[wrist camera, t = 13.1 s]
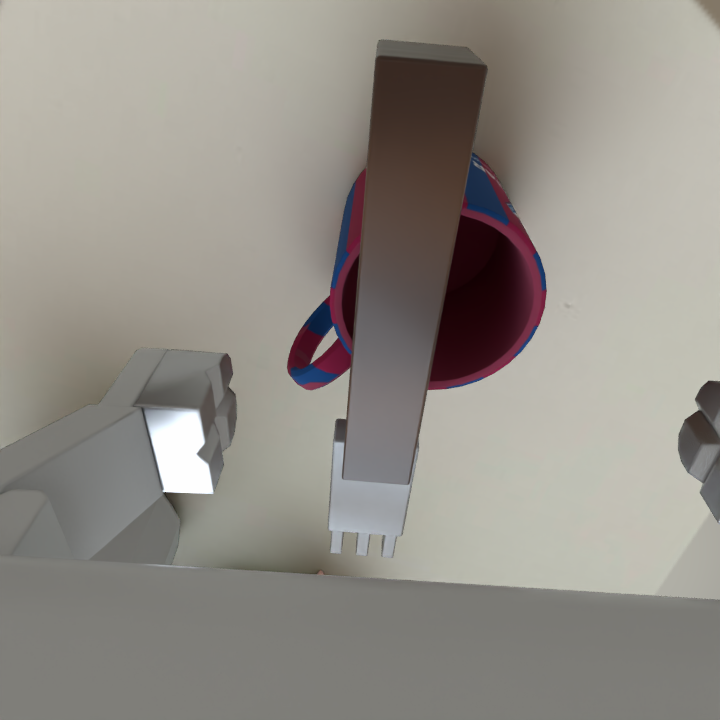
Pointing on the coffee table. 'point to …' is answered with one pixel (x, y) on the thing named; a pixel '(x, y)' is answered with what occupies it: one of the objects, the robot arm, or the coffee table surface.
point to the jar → (146, 537)
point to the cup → (462, 299)
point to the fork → (401, 277)
